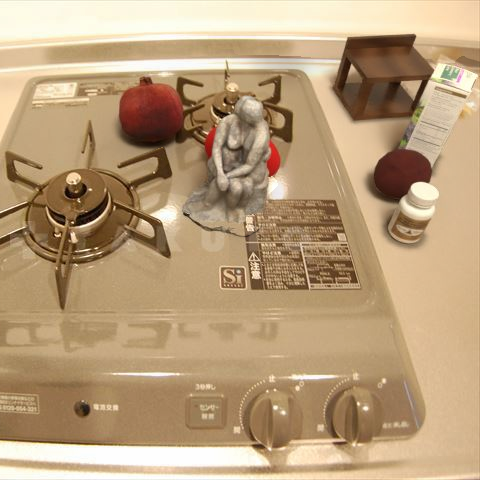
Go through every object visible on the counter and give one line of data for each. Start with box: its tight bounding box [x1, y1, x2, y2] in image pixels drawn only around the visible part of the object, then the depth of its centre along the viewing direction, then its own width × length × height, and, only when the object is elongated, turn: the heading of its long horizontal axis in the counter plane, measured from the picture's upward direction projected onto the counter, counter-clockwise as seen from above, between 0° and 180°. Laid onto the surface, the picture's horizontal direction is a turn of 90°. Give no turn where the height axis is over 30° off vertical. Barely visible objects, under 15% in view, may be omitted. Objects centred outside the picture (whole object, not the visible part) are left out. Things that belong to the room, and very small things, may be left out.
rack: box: [332, 33, 435, 121], centre depth 93 cm, size 12×10×10 cm
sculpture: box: [181, 95, 271, 234], centre depth 71 cm, size 11×18×12 cm
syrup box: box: [396, 62, 479, 169], centre depth 81 cm, size 6×6×14 cm
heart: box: [204, 125, 282, 178], centre depth 79 cm, size 12×5×10 cm, turn 62°
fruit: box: [118, 76, 185, 143], centre depth 85 cm, size 11×10×10 cm
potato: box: [372, 148, 433, 200], centre depth 78 cm, size 7×8×7 cm
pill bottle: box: [387, 182, 440, 244], centre depth 72 cm, size 4×4×8 cm
